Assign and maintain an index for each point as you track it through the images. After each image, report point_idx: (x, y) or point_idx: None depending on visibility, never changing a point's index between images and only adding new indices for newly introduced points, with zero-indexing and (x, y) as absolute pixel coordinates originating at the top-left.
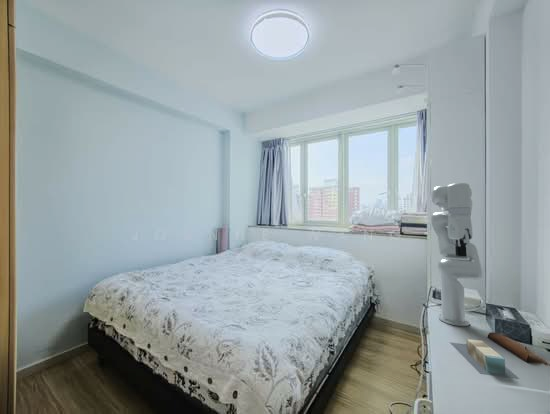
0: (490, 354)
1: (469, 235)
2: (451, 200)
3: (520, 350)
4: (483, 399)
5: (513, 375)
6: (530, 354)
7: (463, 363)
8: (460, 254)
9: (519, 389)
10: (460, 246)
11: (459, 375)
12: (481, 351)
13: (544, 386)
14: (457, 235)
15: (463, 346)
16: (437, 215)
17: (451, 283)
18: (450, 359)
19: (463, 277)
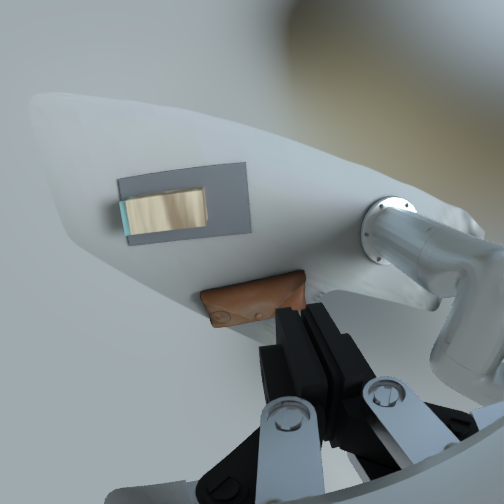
0: (134, 214)
1: None
2: None
3: (221, 299)
4: (56, 159)
5: (136, 240)
6: (214, 310)
7: (155, 161)
8: (279, 341)
9: (102, 229)
10: (265, 417)
11: (107, 139)
12: (141, 200)
13: (130, 275)
14: None
15: (232, 189)
16: None
17: (441, 260)
18: (163, 138)
19: (449, 312)
